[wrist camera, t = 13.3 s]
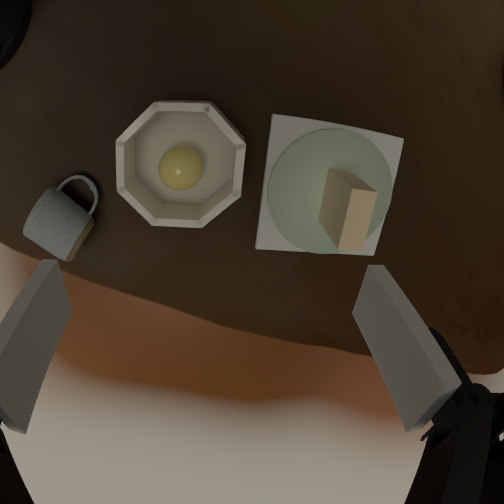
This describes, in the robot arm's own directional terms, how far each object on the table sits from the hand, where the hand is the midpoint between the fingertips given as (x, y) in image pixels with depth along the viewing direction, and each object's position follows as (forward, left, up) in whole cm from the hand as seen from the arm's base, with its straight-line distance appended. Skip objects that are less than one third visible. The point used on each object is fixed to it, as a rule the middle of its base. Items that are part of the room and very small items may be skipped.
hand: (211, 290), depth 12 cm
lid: (+4, +15, -27) cm, 31 cm away
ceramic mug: (+8, -20, -28) cm, 36 cm away
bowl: (+1, -4, -28) cm, 28 cm away
